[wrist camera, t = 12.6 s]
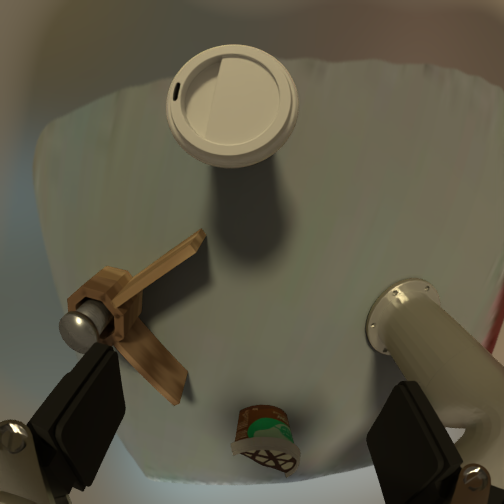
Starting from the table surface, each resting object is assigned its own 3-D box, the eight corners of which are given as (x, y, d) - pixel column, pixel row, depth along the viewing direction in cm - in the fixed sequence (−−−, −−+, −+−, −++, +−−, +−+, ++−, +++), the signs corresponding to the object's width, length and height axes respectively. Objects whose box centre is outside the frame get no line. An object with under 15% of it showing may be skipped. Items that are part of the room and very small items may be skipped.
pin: (136, 299, 38) (104, 344, 27) (114, 315, 38) (80, 359, 28) (114, 270, 36) (73, 307, 26) (92, 288, 37) (52, 326, 27)
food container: (309, 419, 45) (318, 463, 35) (283, 435, 46) (288, 478, 37) (259, 388, 42) (261, 437, 33) (232, 407, 44) (230, 454, 34)
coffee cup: (226, 73, 29) (210, 15, 15) (296, 114, 31) (330, 81, 17) (181, 140, 32) (132, 125, 17) (251, 182, 33) (252, 196, 19)
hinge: (273, 326, 39) (278, 357, 32) (167, 381, 42) (156, 412, 35) (184, 204, 34) (169, 215, 27) (83, 285, 37) (58, 307, 30)
